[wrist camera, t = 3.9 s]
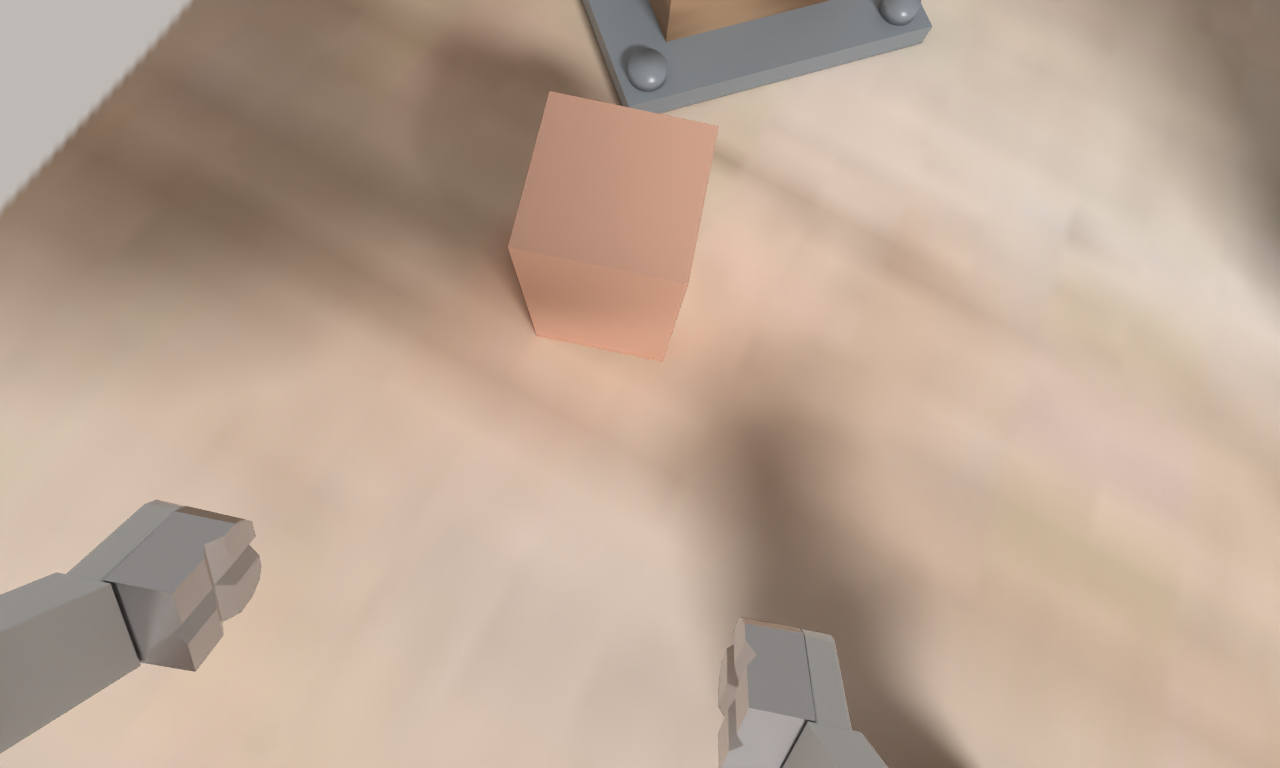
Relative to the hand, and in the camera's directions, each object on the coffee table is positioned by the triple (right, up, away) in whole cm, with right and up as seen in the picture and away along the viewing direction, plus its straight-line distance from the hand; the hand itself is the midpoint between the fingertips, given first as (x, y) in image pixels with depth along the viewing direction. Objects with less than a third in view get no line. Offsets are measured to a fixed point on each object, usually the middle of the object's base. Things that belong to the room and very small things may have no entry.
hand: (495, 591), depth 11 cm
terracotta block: (+1, +7, +15) cm, 17 cm away
